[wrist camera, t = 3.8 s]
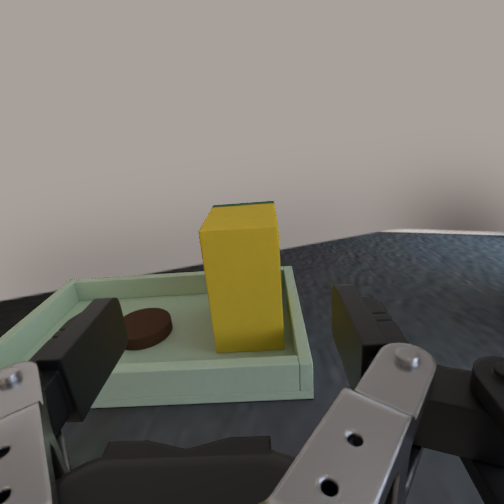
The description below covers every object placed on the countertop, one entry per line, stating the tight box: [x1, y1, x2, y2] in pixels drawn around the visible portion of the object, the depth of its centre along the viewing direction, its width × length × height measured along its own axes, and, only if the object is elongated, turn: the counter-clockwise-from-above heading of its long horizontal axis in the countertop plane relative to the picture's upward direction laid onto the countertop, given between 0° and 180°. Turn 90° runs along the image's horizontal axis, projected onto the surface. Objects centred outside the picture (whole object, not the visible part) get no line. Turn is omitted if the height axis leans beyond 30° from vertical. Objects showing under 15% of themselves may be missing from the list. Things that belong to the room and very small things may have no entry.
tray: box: [0, 266, 314, 408], centre depth 26 cm, size 22×14×3 cm, turn 89°
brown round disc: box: [123, 308, 173, 350], centre depth 26 cm, size 4×4×1 cm
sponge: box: [199, 201, 285, 353], centre depth 24 cm, size 5×7×9 cm
